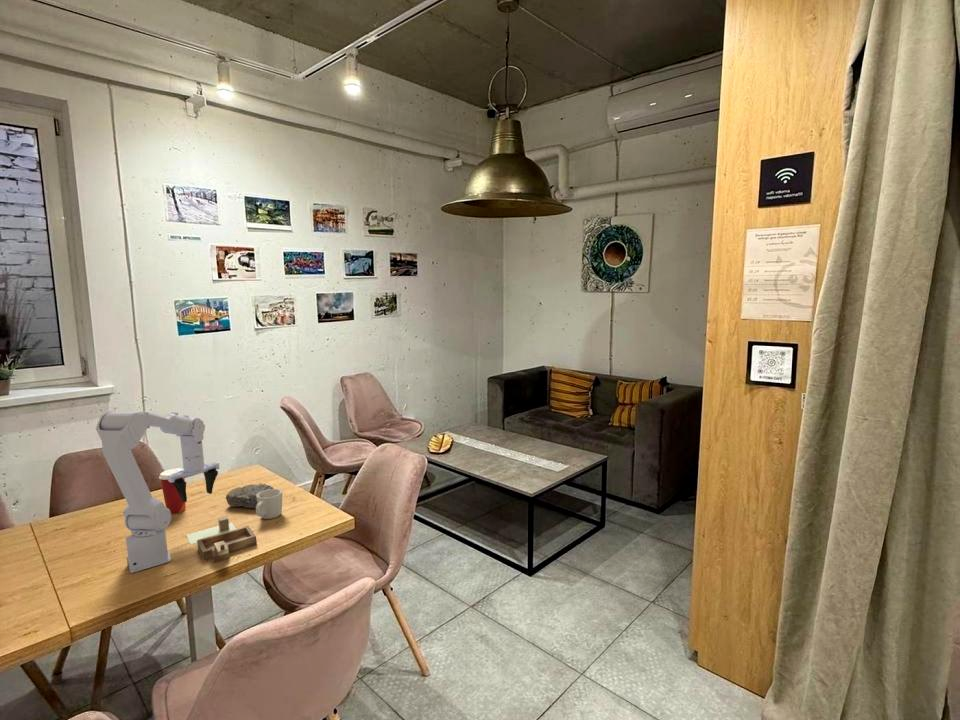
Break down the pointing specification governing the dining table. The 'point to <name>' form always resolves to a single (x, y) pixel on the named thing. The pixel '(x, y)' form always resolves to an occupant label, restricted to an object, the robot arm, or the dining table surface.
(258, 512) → the cup
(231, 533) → the wooden tray
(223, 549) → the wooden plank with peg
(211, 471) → the robot arm
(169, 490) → the paper cup
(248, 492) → the rock
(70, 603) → the dining table surface
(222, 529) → the lid
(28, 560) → the dining table surface
